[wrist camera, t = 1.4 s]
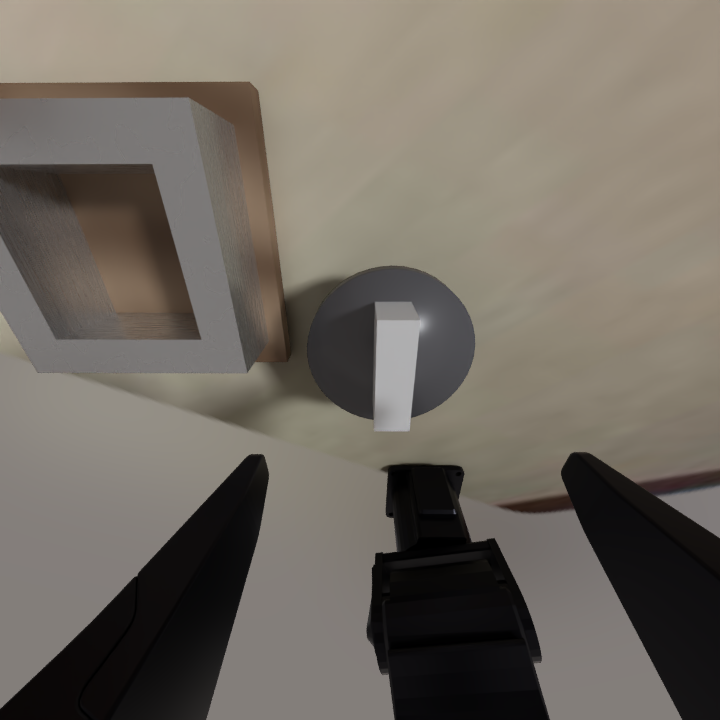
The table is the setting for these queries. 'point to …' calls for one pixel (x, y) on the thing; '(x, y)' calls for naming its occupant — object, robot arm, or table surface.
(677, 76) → the table surface
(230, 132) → the hollow square frame
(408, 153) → the table surface
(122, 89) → the walnut plate
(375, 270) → the grey disc with handle
